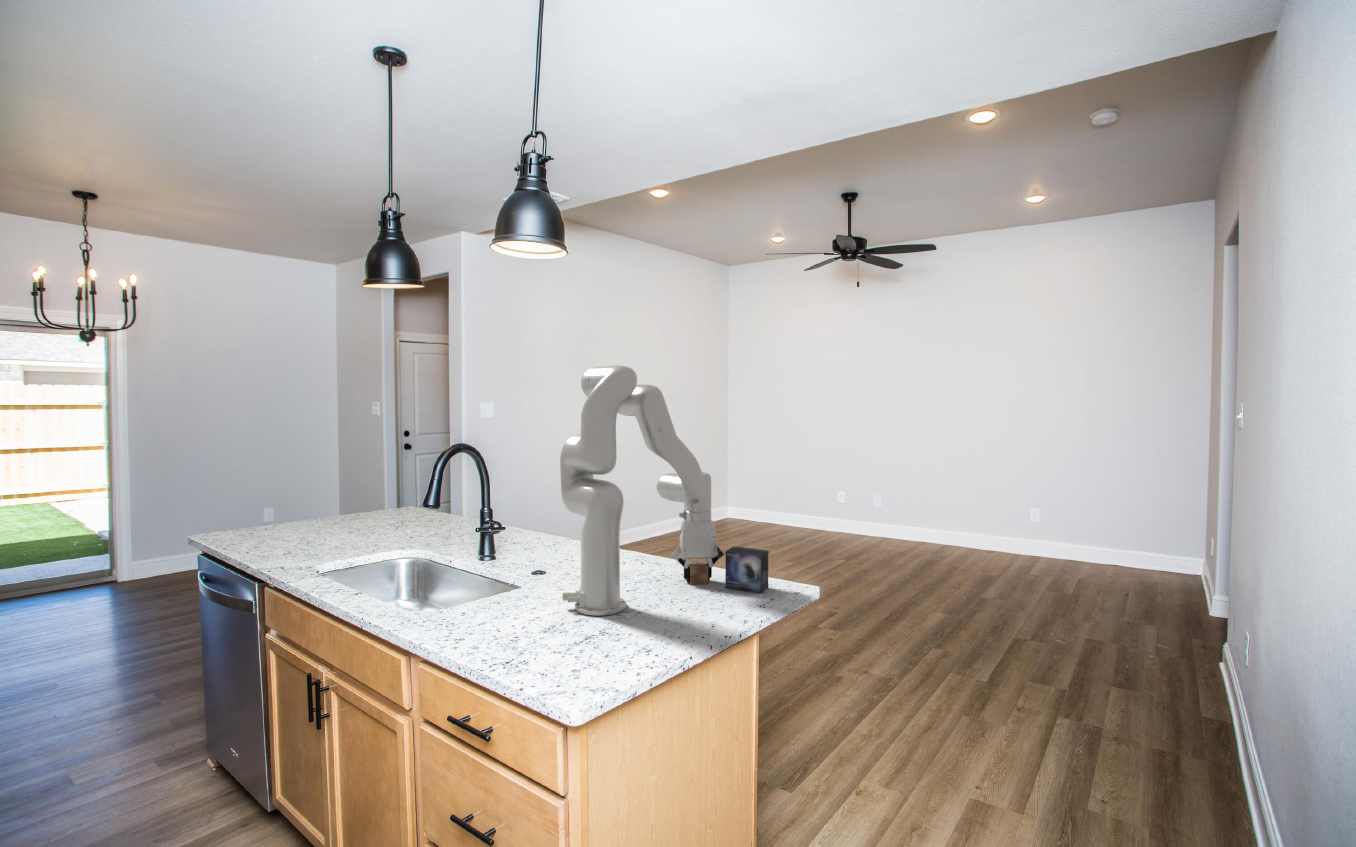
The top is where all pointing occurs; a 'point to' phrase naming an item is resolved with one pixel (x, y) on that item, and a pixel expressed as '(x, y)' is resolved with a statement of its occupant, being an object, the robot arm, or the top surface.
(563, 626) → the top surface
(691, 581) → the walnut cube
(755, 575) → the small box
